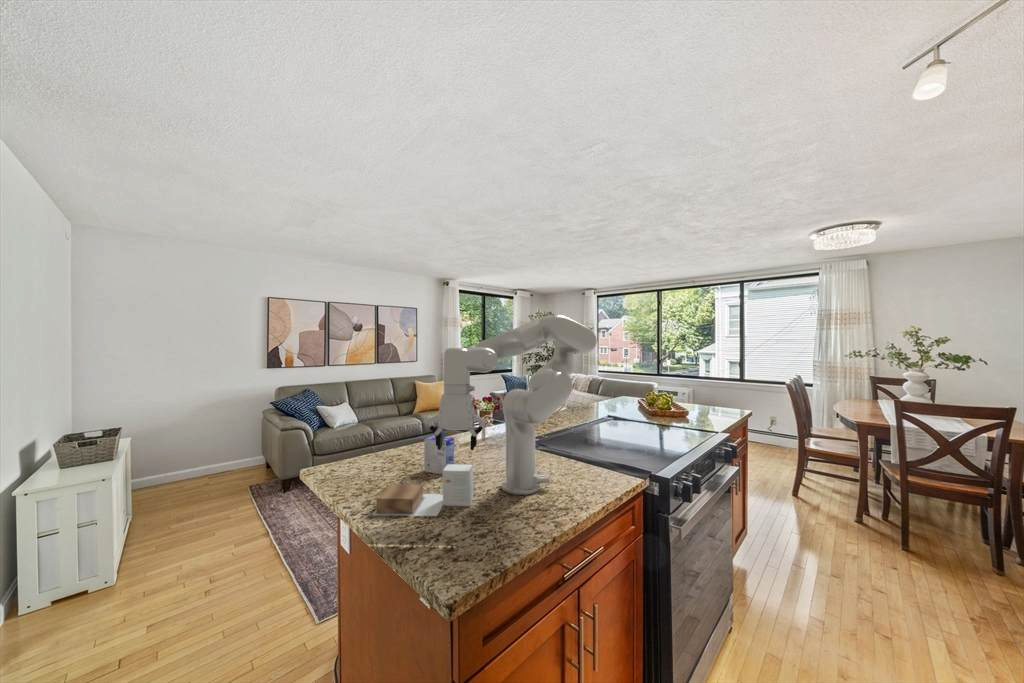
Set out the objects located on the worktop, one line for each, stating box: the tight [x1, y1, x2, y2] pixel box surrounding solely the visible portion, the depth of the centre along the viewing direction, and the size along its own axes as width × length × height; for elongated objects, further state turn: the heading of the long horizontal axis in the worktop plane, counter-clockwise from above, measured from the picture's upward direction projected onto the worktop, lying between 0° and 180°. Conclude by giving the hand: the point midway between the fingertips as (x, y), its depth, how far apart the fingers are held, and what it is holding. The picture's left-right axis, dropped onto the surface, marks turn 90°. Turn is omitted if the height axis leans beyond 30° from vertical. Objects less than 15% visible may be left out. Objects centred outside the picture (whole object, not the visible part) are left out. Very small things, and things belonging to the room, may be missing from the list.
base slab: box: [375, 483, 424, 514], centre depth 107 cm, size 10×10×4 cm
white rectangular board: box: [371, 493, 444, 517], centre depth 107 cm, size 18×14×1 cm
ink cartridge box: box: [423, 430, 455, 475], centre depth 135 cm, size 10×6×14 cm, turn 66°
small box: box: [441, 463, 474, 507], centre depth 109 cm, size 8×6×10 cm
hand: (456, 448), depth 108 cm, fingers open, 9 cm apart
